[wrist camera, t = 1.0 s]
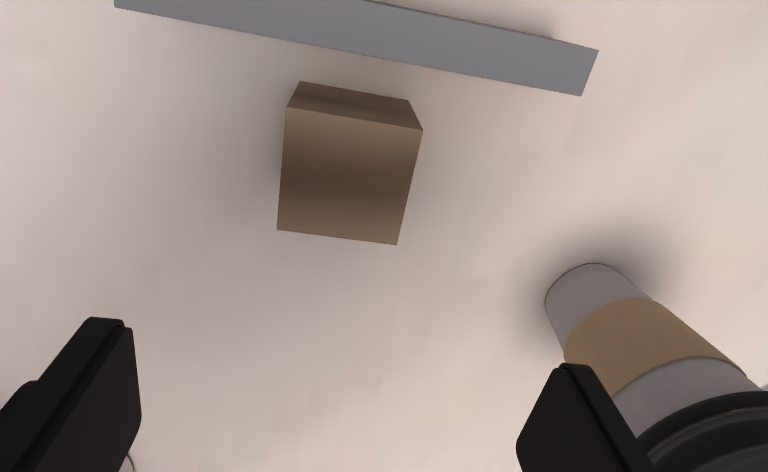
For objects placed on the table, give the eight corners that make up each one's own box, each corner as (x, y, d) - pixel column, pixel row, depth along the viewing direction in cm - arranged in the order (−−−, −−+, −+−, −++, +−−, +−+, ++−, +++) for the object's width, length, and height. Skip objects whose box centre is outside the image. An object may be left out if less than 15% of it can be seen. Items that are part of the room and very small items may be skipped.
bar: (540, 77, 25) (580, 96, 20) (161, 3, 22) (114, 7, 17) (553, 38, 24) (599, 50, 19) (159, -45, 21) (108, -53, 16)
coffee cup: (502, 334, 34) (598, 552, 21) (554, 228, 30) (715, 419, 17) (611, 351, 36) (762, 561, 23) (675, 253, 31) (908, 443, 18)
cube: (387, 198, 28) (396, 246, 23) (290, 183, 27) (276, 231, 22) (407, 100, 25) (423, 130, 20) (300, 80, 24) (286, 106, 19)
